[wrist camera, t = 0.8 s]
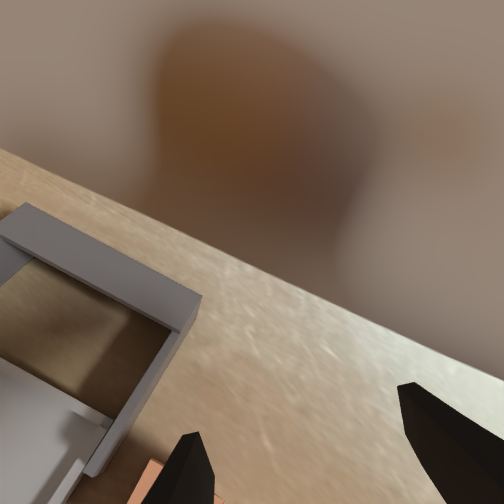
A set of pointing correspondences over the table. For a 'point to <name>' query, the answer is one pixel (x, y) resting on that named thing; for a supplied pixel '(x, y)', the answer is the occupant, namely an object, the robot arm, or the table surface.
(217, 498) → the block
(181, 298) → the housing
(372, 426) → the table surface
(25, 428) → the tray
